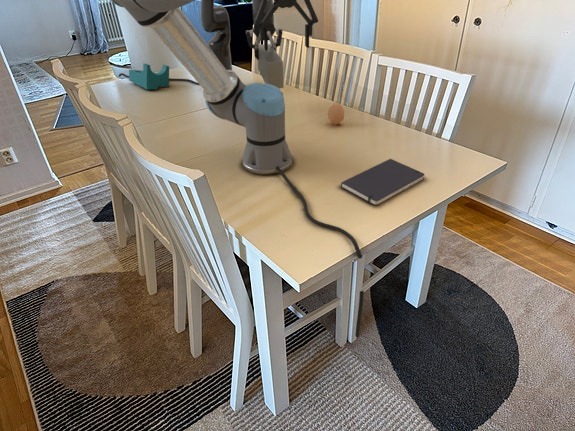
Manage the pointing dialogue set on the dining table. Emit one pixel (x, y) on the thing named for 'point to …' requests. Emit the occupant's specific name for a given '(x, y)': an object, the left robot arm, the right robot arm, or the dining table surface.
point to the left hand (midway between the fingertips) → (265, 58)
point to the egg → (336, 113)
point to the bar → (270, 66)
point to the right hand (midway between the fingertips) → (286, 48)
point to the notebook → (382, 181)
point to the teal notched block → (150, 77)
